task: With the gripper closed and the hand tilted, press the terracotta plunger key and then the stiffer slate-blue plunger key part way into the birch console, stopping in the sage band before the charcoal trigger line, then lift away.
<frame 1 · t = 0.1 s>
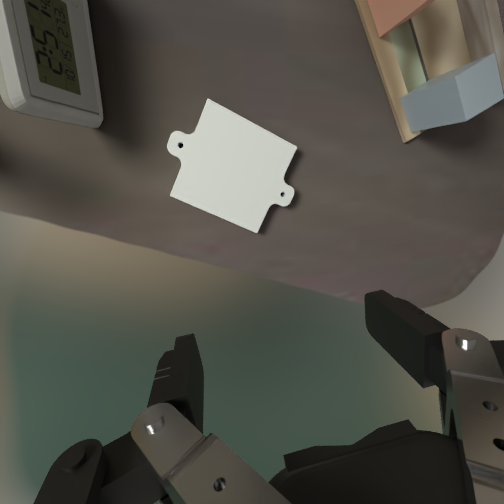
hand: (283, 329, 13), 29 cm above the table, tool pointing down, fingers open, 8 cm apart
key console: (417, 51, 38), on the table
mounting plate: (232, 171, 39), on the table
digital clock: (72, 55, 32), on the table
slate key: (446, 98, 35), point 5 cm above the table, slide at 0.0 cm
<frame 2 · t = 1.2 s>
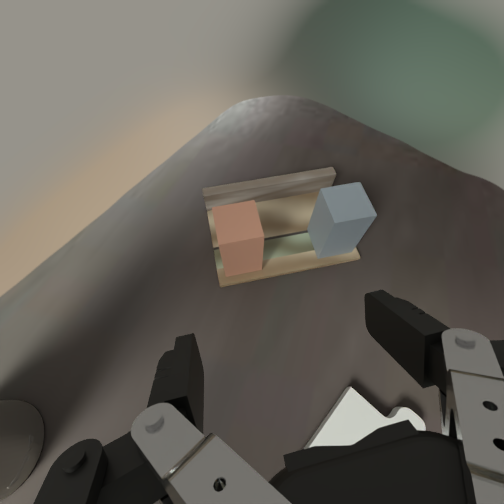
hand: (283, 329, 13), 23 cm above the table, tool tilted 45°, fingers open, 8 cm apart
key console: (280, 236, 41), on the table
mounting plate: (362, 487, 28), on the table
terracotta key: (239, 241, 35), point 5 cm above the table, slide at 0.0 cm
slate key: (337, 223, 36), point 5 cm above the table, slide at 0.0 cm
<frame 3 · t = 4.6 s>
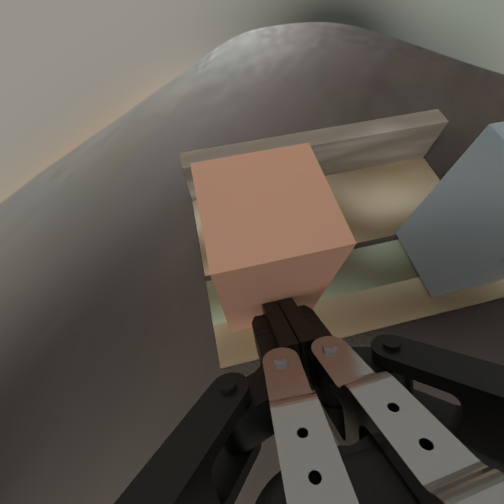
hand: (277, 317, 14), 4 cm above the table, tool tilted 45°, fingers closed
key console: (340, 249, 20), on the table
terracotta key: (262, 255, 14), point 5 cm above the table, slide at 0.8 cm, touching gripper
slate key: (495, 218, 15), point 5 cm above the table, slide at 0.0 cm
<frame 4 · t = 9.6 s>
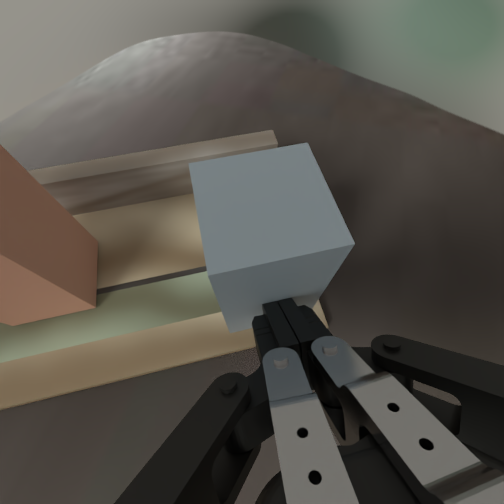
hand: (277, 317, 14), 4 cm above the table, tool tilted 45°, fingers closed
key console: (161, 278, 19), on the table
terracotta key: (4, 248, 14), point 5 cm above the table, slide at 3.5 cm
slate key: (261, 255, 14), point 5 cm above the table, slide at 0.0 cm, touching gripper
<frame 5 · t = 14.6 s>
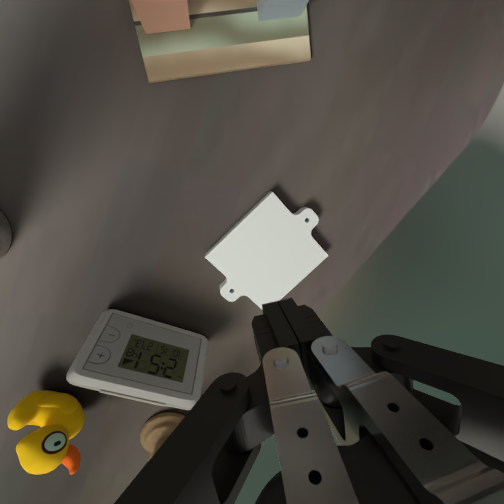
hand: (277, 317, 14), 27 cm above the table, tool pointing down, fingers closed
key console: (222, 13, 32), on the table
mounting plate: (265, 252, 42), on the table
digital clock: (155, 333, 43), on the table
candle holder: (168, 430, 48), on the table
duckling: (67, 399, 43), on the table
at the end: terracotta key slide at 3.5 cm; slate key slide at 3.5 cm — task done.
